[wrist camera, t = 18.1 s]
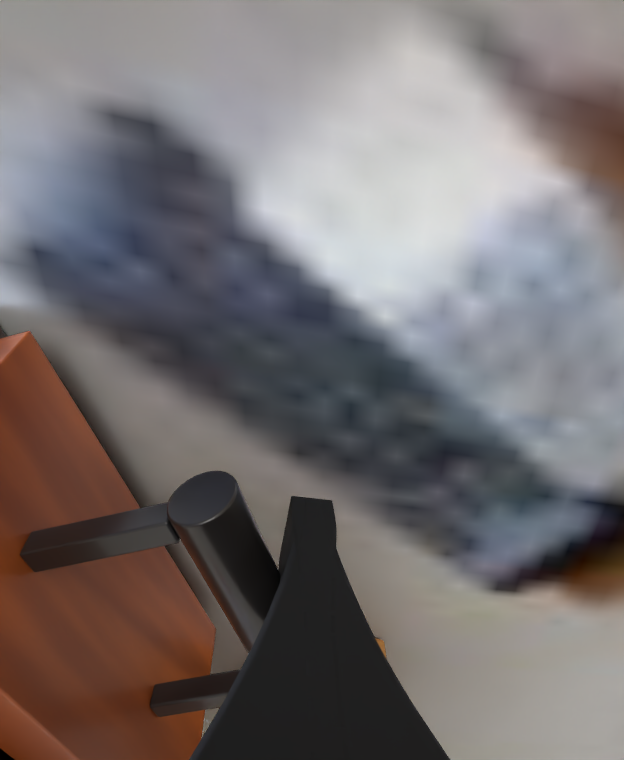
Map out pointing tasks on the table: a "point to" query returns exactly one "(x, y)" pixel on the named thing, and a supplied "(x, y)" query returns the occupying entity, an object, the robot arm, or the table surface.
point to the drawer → (108, 586)
